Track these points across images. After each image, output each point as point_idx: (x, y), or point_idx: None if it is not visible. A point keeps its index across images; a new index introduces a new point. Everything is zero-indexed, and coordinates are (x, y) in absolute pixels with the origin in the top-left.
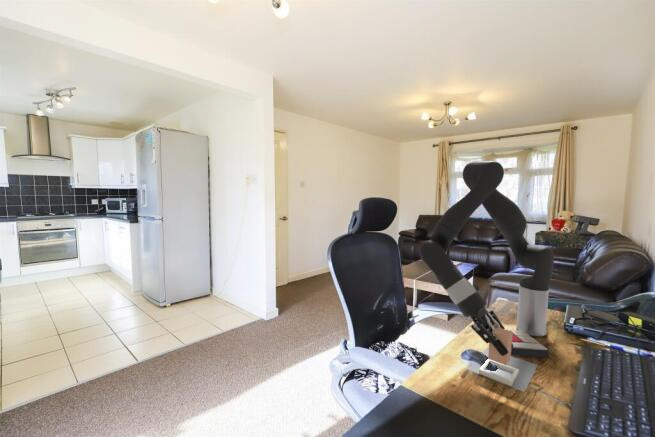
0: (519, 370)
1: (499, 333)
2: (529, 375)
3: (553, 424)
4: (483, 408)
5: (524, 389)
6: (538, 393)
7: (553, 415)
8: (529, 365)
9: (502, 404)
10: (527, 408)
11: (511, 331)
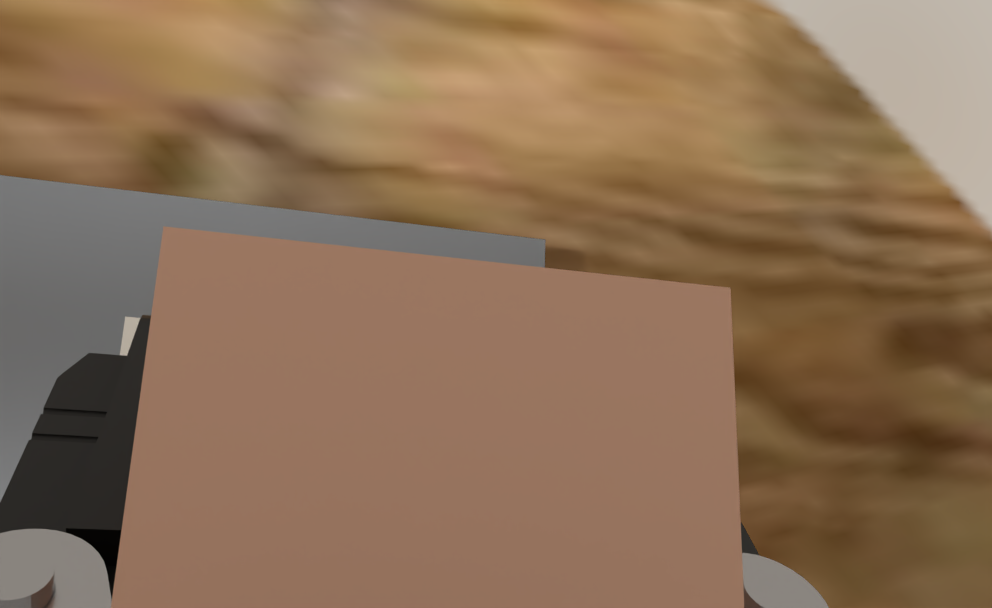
0: (23, 335)
1: (690, 567)
2: (89, 215)
3: (746, 46)
4: (978, 526)
5: (485, 242)
6: (354, 141)
7: (629, 40)
8: None
9: (800, 403)
10: (692, 216)
11: (164, 263)
